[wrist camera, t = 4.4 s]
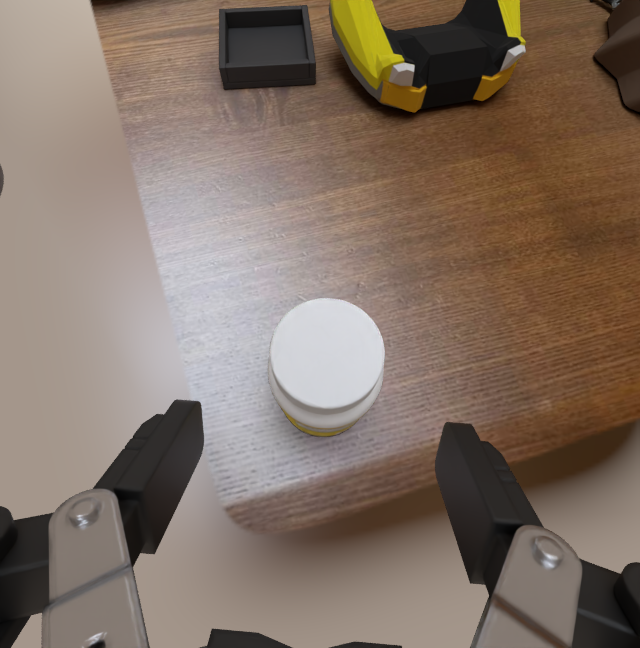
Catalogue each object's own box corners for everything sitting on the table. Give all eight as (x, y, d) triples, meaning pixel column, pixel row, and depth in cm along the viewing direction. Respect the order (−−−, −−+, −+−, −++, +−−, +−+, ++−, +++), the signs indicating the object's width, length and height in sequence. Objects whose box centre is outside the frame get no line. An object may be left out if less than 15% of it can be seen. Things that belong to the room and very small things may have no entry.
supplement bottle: (286, 349, 21) (268, 280, 13) (366, 356, 21) (397, 291, 13) (275, 434, 19) (247, 413, 11) (363, 442, 19) (396, 427, 11)
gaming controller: (323, 47, 31) (355, 129, 27) (324, -36, 26) (364, 52, 22) (483, 23, 32) (533, 98, 29) (515, -60, 27) (580, 19, 24)
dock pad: (224, 89, 29) (218, 67, 27) (223, 31, 32) (219, 8, 30) (315, 84, 29) (315, 62, 28) (307, 27, 32) (307, 4, 30)
